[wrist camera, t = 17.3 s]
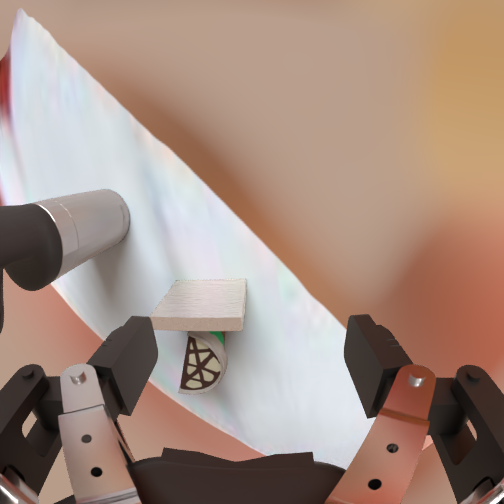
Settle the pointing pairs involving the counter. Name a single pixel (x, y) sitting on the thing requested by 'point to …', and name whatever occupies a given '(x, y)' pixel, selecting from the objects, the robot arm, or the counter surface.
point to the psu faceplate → (202, 306)
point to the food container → (203, 362)
